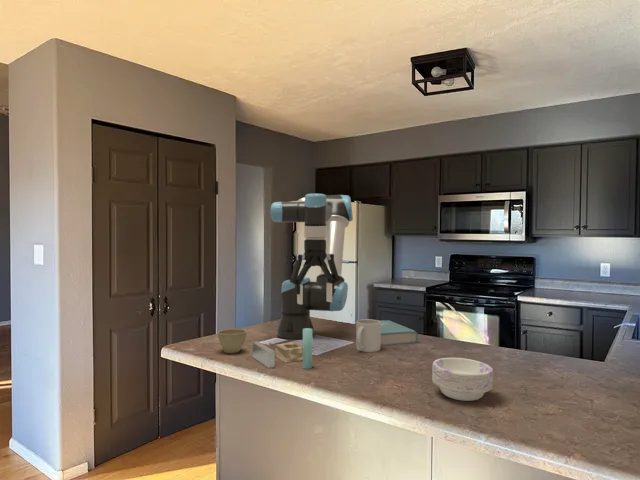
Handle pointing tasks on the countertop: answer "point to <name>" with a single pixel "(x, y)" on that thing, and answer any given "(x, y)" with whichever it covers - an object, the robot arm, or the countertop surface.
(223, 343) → the flower pot
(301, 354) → the block
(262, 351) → the backstop rail
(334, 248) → the robot arm
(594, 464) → the countertop surface
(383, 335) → the book
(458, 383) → the paper bowls
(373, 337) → the mug
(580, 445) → the countertop surface
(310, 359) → the dowel
